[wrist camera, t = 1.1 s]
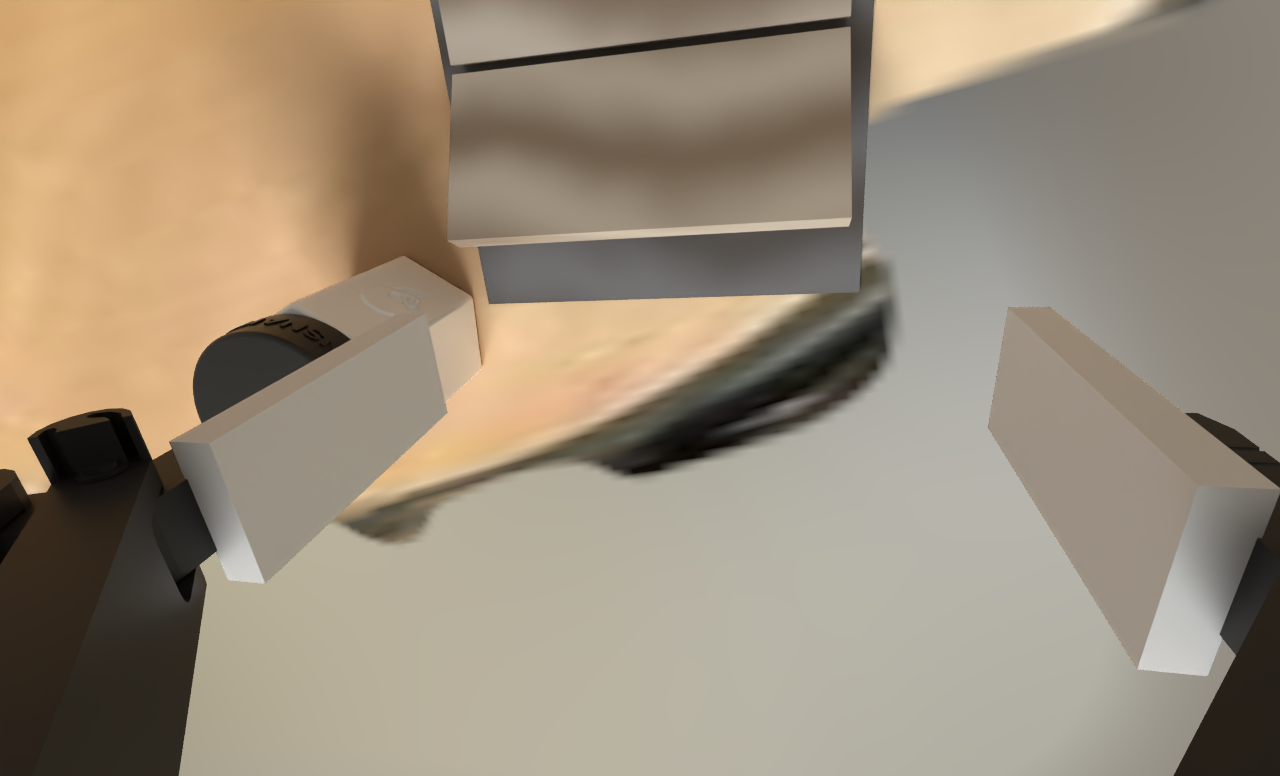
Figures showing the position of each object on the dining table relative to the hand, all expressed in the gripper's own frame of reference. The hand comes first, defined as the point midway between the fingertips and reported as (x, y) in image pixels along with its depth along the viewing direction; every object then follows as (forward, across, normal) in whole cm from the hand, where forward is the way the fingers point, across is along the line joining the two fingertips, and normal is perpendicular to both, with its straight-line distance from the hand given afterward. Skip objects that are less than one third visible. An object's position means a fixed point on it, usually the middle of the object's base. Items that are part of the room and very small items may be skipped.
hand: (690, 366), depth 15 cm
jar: (+19, -19, -6) cm, 28 cm away
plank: (+17, -4, +4) cm, 18 cm away
